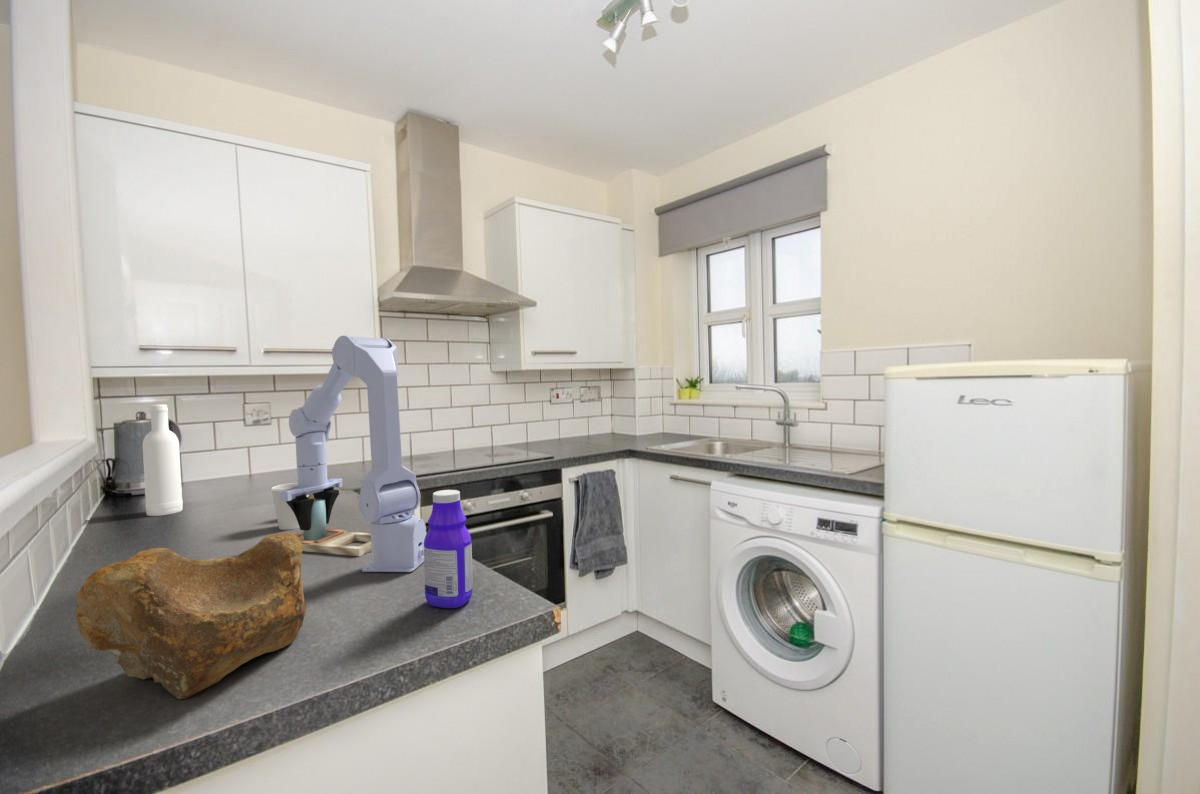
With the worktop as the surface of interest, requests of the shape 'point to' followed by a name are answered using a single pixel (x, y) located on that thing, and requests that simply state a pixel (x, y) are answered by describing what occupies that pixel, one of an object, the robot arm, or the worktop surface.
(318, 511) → the peg
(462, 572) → the bottle
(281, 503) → the dixie cup
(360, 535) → the wooden slot frame
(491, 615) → the worktop surface
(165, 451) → the bottle
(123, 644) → the rough brown rock
